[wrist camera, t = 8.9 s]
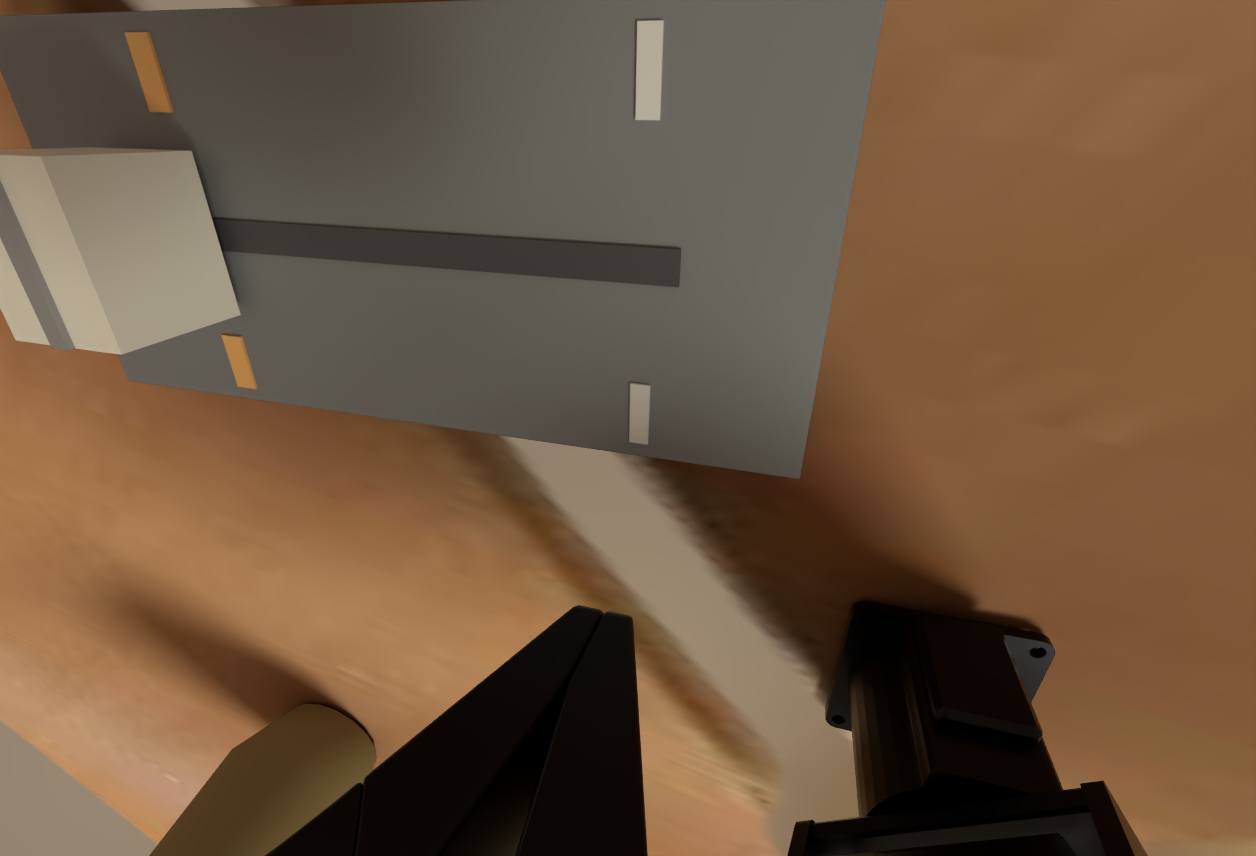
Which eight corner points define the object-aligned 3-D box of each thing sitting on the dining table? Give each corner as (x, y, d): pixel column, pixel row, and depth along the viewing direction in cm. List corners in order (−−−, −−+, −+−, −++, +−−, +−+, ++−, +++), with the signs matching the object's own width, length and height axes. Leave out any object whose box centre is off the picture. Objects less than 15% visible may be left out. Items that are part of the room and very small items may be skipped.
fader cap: (240, 314, 20) (114, 357, 16) (147, 304, 20) (8, 342, 17) (191, 151, 17) (30, 157, 14) (88, 147, 18) (-88, 152, 15)
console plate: (799, 447, 19) (799, 480, 17) (175, 363, 25) (126, 381, 23) (877, 4, 14) (888, -15, 12) (50, 25, 19) (-26, 15, 18)
